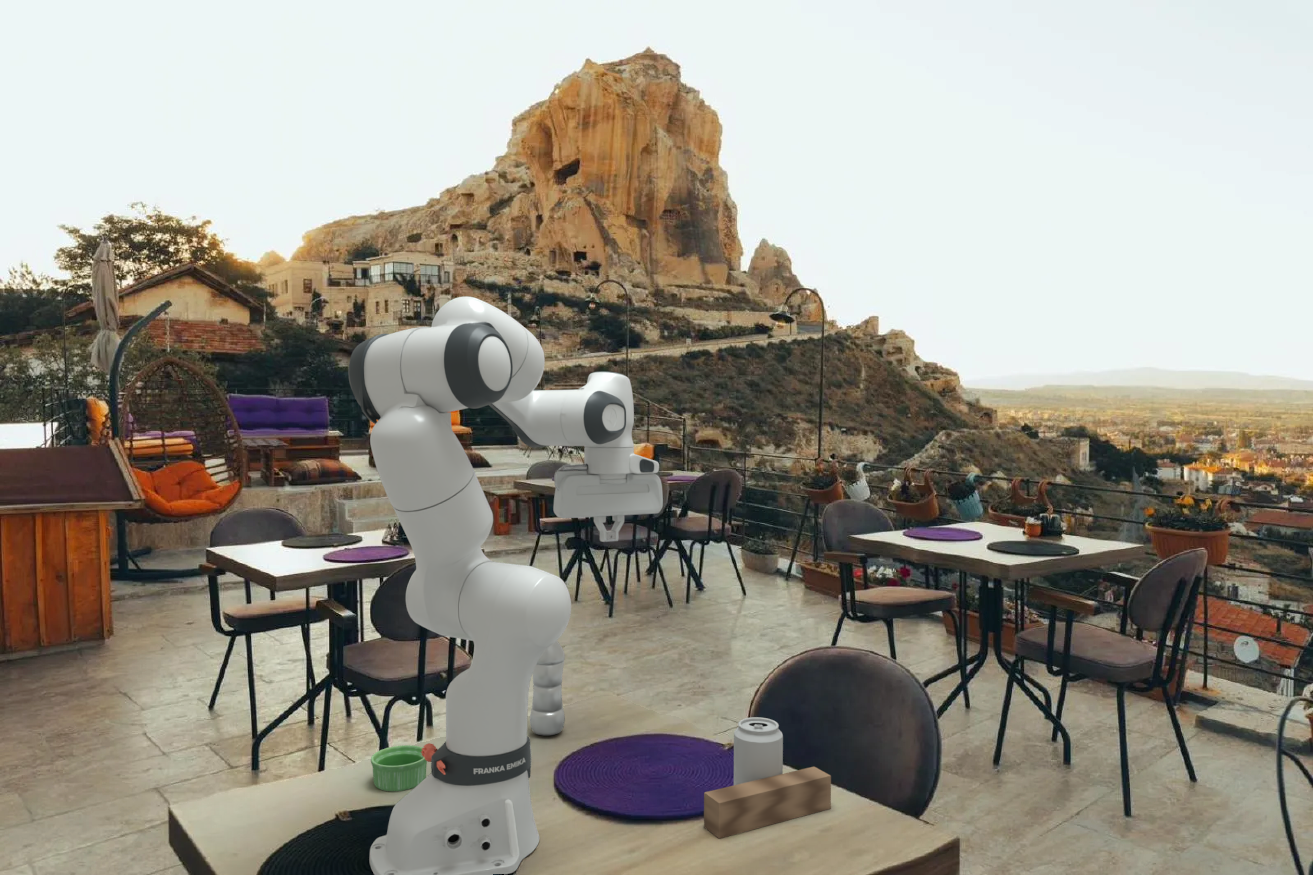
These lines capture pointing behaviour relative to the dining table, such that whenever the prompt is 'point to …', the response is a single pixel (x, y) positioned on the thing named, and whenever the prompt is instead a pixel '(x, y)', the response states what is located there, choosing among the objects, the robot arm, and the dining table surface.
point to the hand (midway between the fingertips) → (609, 541)
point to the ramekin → (398, 768)
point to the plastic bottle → (548, 692)
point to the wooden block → (766, 801)
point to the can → (757, 750)
